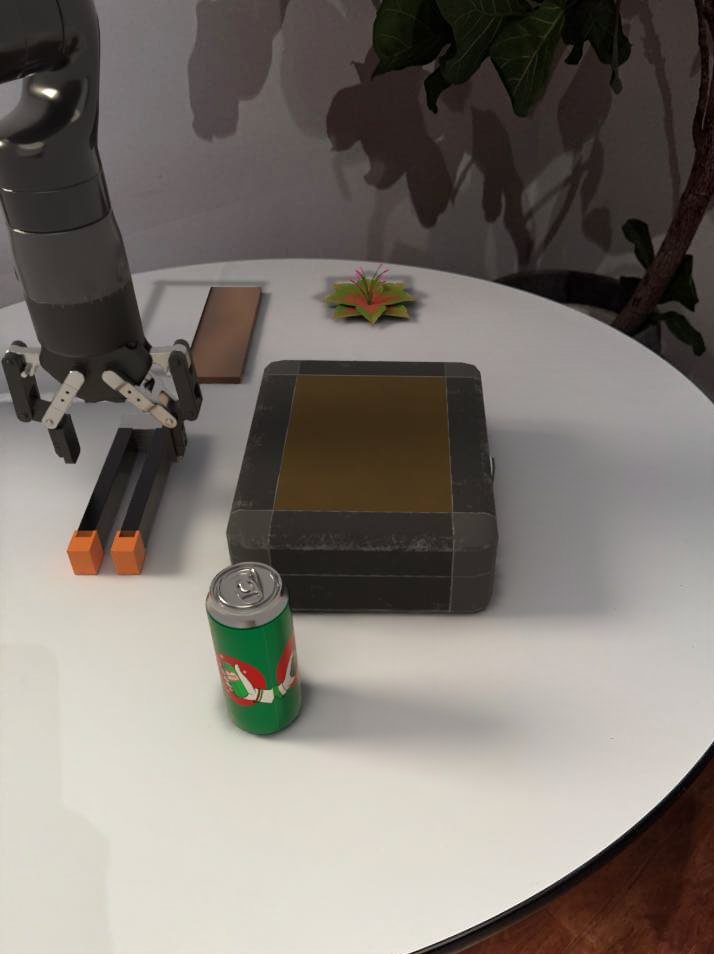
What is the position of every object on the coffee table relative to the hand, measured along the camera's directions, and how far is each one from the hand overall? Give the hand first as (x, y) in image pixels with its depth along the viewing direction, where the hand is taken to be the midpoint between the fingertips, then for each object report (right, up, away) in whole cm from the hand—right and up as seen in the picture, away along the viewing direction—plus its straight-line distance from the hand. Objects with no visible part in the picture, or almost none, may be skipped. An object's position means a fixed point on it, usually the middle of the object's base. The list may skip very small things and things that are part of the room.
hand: (124, 457), depth 73 cm
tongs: (0, -4, +3) cm, 5 cm away
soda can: (+14, -19, -13) cm, 27 cm away
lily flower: (+19, +21, +30) cm, 41 cm away
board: (0, +16, +24) cm, 29 cm away
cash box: (+21, -4, +3) cm, 21 cm away
